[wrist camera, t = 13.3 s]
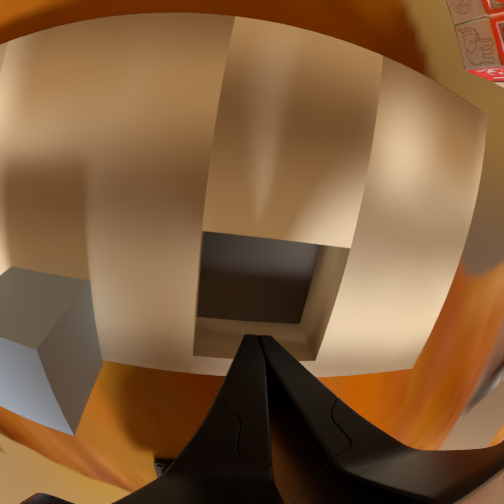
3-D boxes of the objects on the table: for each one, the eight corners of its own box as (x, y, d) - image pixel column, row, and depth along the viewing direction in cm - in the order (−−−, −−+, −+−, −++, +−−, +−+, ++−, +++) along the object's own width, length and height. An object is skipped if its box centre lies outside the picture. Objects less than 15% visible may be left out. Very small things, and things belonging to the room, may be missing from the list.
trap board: (388, 336, 15) (425, 386, 11) (-51, 278, 11) (-87, 307, 7) (446, 114, 11) (511, 115, 7) (-56, 91, 6) (-101, 92, 2)
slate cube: (102, 363, 10) (74, 436, 7) (31, 344, 10) (-8, 402, 6) (90, 280, 9) (36, 349, 5) (11, 266, 8) (-48, 316, 5)
